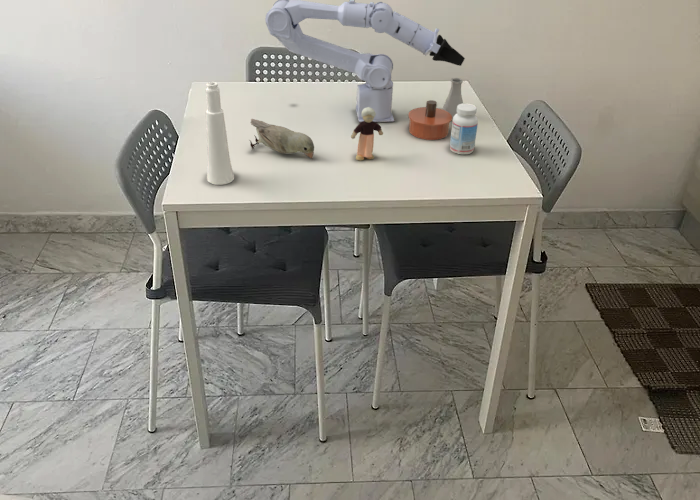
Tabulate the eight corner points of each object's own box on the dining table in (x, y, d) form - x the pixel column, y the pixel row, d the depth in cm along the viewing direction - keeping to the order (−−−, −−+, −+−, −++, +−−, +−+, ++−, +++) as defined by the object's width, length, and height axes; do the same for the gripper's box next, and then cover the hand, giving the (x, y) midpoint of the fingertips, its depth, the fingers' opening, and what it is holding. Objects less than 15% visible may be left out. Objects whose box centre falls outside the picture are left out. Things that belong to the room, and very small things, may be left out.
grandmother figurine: (356, 163, 157) (358, 113, 149) (348, 156, 159) (350, 106, 152) (384, 157, 160) (387, 107, 152) (376, 151, 162) (379, 101, 155)
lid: (412, 129, 166) (413, 111, 163) (404, 111, 175) (405, 94, 172) (456, 128, 167) (458, 110, 164) (446, 110, 176) (448, 93, 173)
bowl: (412, 140, 168) (414, 125, 166) (405, 123, 176) (407, 109, 174) (452, 139, 169) (454, 125, 167) (443, 123, 177) (445, 109, 175)
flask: (467, 121, 179) (472, 85, 173) (440, 120, 179) (444, 84, 173) (464, 110, 185) (468, 75, 179) (438, 109, 185) (441, 74, 179)
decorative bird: (309, 163, 156) (309, 134, 152) (247, 152, 160) (245, 123, 155) (317, 154, 160) (317, 125, 156) (256, 143, 164) (255, 114, 160)
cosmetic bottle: (237, 182, 147) (229, 87, 135) (209, 186, 145) (199, 90, 133) (231, 170, 152) (223, 77, 139) (204, 174, 150) (194, 79, 138)
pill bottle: (475, 146, 166) (482, 104, 160) (471, 157, 161) (477, 113, 155) (451, 142, 168) (457, 100, 161) (446, 152, 163) (452, 109, 156)
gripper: (424, 21, 158) (473, 48, 161) (418, 17, 172) (464, 42, 174) (409, 49, 161) (458, 75, 163) (405, 42, 174) (450, 66, 176)
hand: (460, 60), depth 169 cm, fingers open, 7 cm apart
